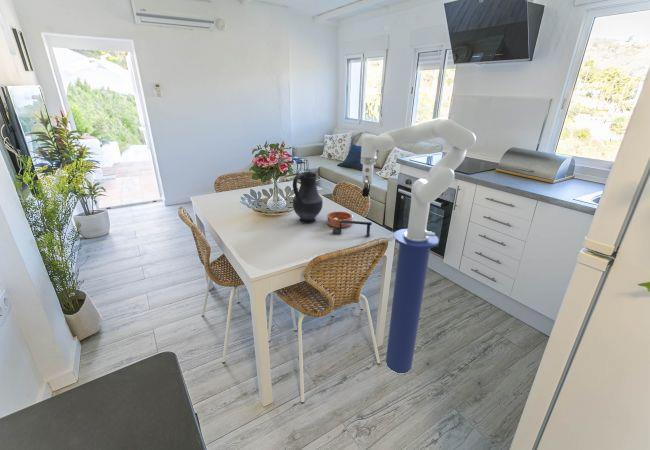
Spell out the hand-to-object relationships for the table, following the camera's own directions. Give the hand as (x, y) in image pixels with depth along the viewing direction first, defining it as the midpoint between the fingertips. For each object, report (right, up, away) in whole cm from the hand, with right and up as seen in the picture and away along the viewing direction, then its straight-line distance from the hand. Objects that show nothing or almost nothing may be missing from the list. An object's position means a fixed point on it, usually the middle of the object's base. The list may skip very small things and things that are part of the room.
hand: (366, 193), depth 161 cm
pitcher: (-32, -14, +26) cm, 44 cm away
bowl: (-13, -15, +24) cm, 31 cm away
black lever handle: (-7, -21, +10) cm, 24 cm away
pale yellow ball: (-15, -13, +23) cm, 31 cm away
